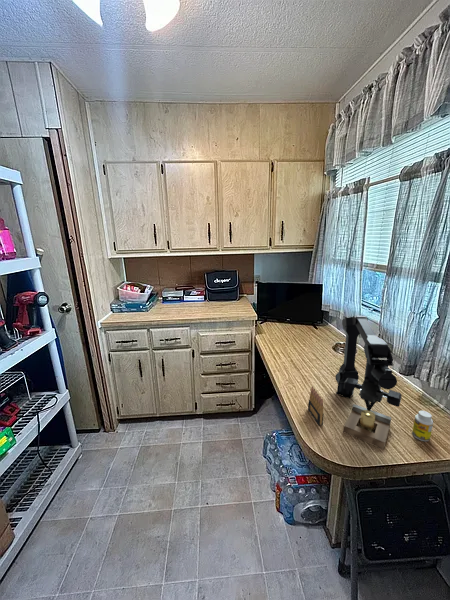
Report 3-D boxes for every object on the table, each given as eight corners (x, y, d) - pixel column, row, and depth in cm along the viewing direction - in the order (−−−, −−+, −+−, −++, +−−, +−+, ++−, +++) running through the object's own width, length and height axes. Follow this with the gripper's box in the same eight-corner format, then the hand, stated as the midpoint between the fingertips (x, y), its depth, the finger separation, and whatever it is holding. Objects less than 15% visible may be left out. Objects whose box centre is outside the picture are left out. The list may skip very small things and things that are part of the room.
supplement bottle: (408, 433, 101) (412, 411, 99) (417, 429, 103) (422, 407, 101) (423, 444, 96) (428, 420, 94) (433, 439, 98) (438, 416, 95)
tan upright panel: (323, 425, 106) (325, 399, 103) (318, 425, 106) (320, 400, 103) (311, 408, 116) (313, 385, 114) (307, 409, 116) (309, 385, 114)
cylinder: (357, 432, 102) (360, 414, 100) (360, 425, 106) (362, 408, 104) (371, 437, 99) (374, 419, 97) (374, 430, 103) (376, 413, 101)
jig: (343, 432, 102) (344, 421, 101) (352, 413, 113) (353, 403, 112) (383, 449, 94) (385, 437, 92) (389, 428, 104) (391, 417, 103)
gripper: (341, 374, 96) (337, 411, 100) (400, 392, 85) (394, 433, 88) (349, 363, 105) (345, 397, 108) (404, 378, 93) (398, 416, 97)
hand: (368, 410), depth 100 cm, fingers closed
